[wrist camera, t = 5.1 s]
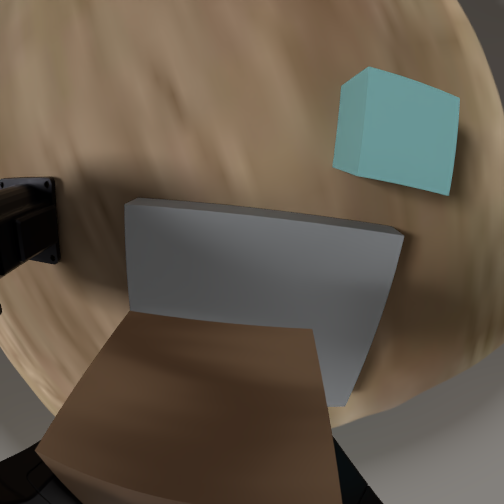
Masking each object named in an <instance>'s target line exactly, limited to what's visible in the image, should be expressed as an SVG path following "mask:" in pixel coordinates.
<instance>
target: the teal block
mask: <svg viewBox="0 0 504 504" xmlns="http://www.w3.org/2000/svg"><path fill="white" fill-rule="evenodd" d="M459 103H460V98H458V97H456V96H453V95H451V94H449V93H446V92H444V91H441V90H439V89H436V88H434V87H431V86H428V85H426V84H423V83H420V82H417V81H415V80H412V79H409V78H406V77H403V76H400V75H396V74H393V73H390V72H386V71H383V70H379V69H376V68H372V67H367V68H366V69H364V70H363V71H362V72H360V73H359V74H357V75H356V76H354V77H353V78H352V79H350V80H349V81H347V82H346V83H345V84H343V85H342V86H341V96H340V107H339V117H338V126H337V135H336V143H335V151H334V159H333V167H334V168H336V169H339V170H342V171H345V172H348V173H351V174H353V175H356V176H360V177H366V178H371V179H376V180H381V181H386V182H391V183H396V184H401V185H405V186H410V187H414V188H418V189H423V190H427V191H431V192H435V193H439V194H443V195H447V196H449V191H450V186H451V180H452V174H453V167H454V160H455V152H456V143H457V133H458V121H459Z"/></svg>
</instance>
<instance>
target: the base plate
mask: <svg viewBox="0 0 504 504" xmlns="http://www.w3.org/2000/svg"><path fill="white" fill-rule="evenodd" d="M403 239H404V235H403V234H401V233H400V232H399V231H397V230H396V229H394V228H393V227H392V226H386V225H380V224H373V223H367V222H360V221H353V220H346V219H339V218H332V217H325V216H317V215H310V214H302V213H294V212H286V211H277V210H269V209H260V208H251V207H241V206H232V205H222V204H211V203H200V202H189V201H177V200H164V199H150V198H136V199H134V200H132V201H130V202H128V203H126V204H125V247H126V266H127V280H128V292H129V303H130V311H135V312H142V313H149V314H156V315H163V316H170V317H178V318H186V319H195V320H204V321H213V322H223V323H233V324H244V325H257V326H270V327H285V328H303V329H312V330H313V335H314V340H315V344H316V349H317V354H318V359H319V365H320V370H321V375H322V380H323V386H324V391H325V396H326V402H327V407H336V406H345V405H346V403H347V401H348V399H349V397H350V394H351V392H352V390H353V388H354V385H355V383H356V381H357V378H358V376H359V374H360V371H361V369H362V367H363V364H364V362H365V359H366V357H367V354H368V351H369V349H370V346H371V344H372V341H373V338H374V335H375V333H376V330H377V327H378V324H379V321H380V318H381V316H382V313H383V310H384V306H385V303H386V300H387V297H388V294H389V291H390V287H391V284H392V281H393V277H394V274H395V270H396V267H397V263H398V259H399V255H400V251H401V248H402V244H403Z"/></svg>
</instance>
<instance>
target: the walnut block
mask: <svg viewBox="0 0 504 504" xmlns="http://www.w3.org/2000/svg"><path fill="white" fill-rule="evenodd" d="M35 451H36V453H37V454H38V455H39V456H40V458H41V459H42V460H43V461H44V462H45V464H46V465H47V466H48V467H49V468H50V470H51V471H52V472H53V473H54V474H55V475H56V476H57V477H58V479H59V480H60V481H61V482H62V483H63V484H64V485H65V486H66V487H67V488H68V489H69V490H70V491H71V492H72V493H73V494H74V495H75V496H76V497H77V498H78V499H79V500H80V501H81V502H82V503H83V504H342V498H341V490H340V483H339V476H338V469H337V462H336V456H335V449H334V443H333V437H332V431H331V425H330V419H329V413H328V408H327V402H326V396H325V391H324V386H323V380H322V375H321V370H320V365H319V359H318V354H317V349H316V344H315V340H314V335H313V330H312V329H303V328H285V327H270V326H257V325H244V324H233V323H223V322H213V321H204V320H195V319H186V318H178V317H170V316H163V315H156V314H149V313H142V312H135V311H129V312H128V314H127V315H126V316H125V318H124V319H123V320H122V322H121V323H120V324H119V326H118V327H117V328H116V330H115V331H114V332H113V334H112V335H111V337H110V338H109V339H108V341H107V342H106V343H105V345H104V346H103V348H102V349H101V350H100V352H99V353H98V355H97V356H96V357H95V359H94V360H93V362H92V363H91V365H90V366H89V367H88V369H87V370H86V372H85V373H84V375H83V376H82V378H81V379H80V381H79V382H78V383H77V385H76V386H75V388H74V389H73V391H72V392H71V394H70V395H69V397H68V398H67V400H66V401H65V403H64V405H63V406H62V408H61V409H60V411H59V412H58V414H57V415H56V417H55V419H54V420H53V422H52V423H51V425H50V426H49V428H48V430H47V431H46V433H45V435H44V436H43V438H42V439H41V441H40V443H39V444H38V446H37V448H36V449H35Z"/></svg>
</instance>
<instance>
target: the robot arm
mask: <svg viewBox="0 0 504 504" xmlns="http://www.w3.org/2000/svg"><path fill="white" fill-rule="evenodd" d="M48 182H49V186H48ZM53 255H54V256H53ZM54 257H55V258H54ZM60 258H61V257H60V249H59V240H58V229H57V217H56V199H55V181H54V179H53V178H52V177H20V178H4V179H1V180H0V278H2V277H3V276H5V275H6V274H8V273H9V272H11V271H12V270H14V269H15V268H17V267H18V266H20V265H22V264H23V263H25V262H26V261H28V260H33V261H39V262H44V263H49V264H57V263H58V262H59V261H60ZM1 313H2V308H1V304H0V315H1ZM332 437H333V436H332ZM40 441H41V440H40ZM40 441H38V442H37V443H35V444H34V445H32V446H31V447H29V448H27V449H25V450H23V451H21V452H19V453H17V454H15V455H14V456H11V457H9V458H7V459H5V460H3V461H1V462H0V504H83V503H82V502H81V501H80V500H79V499H78V498H77V497H76V496H75V495H74V494H73V493H72V492H71V491H70V490H69V489H68V488H67V487H66V486H65V485H64V484H63V483H62V482H61V481H60V480H59V479H58V477H57V476H56V475H55V474H54V473H53V472H52V471H51V470H50V468H49V467H48V466H47V465H46V464H45V462H44V461H43V460H42V459H41V458H40V456H39V455H38V454H37V453H36V451H35V449H36V448H37V446H38V444H39V443H40ZM333 443H334V449H335V456H336V462H337V469H338V476H339V483H340V490H341V498H342V504H383V503H382V502H381V500H380V499H379V498H378V497H377V495H376V494H375V493H374V491H373V490H372V489H371V487H370V486H367V485H368V484H367V482H366V481H365V480H364V479H363V477H362V476H361V474H360V473H359V471H358V470H357V469H356V467H355V466H354V465H353V463H352V462H351V461H350V459H349V458H348V457H347V455H346V454H345V452H344V451H343V449H342V448H341V447H340V446H339V444H338V443H337V441H336V440H335V438H334V437H333Z"/></svg>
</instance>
